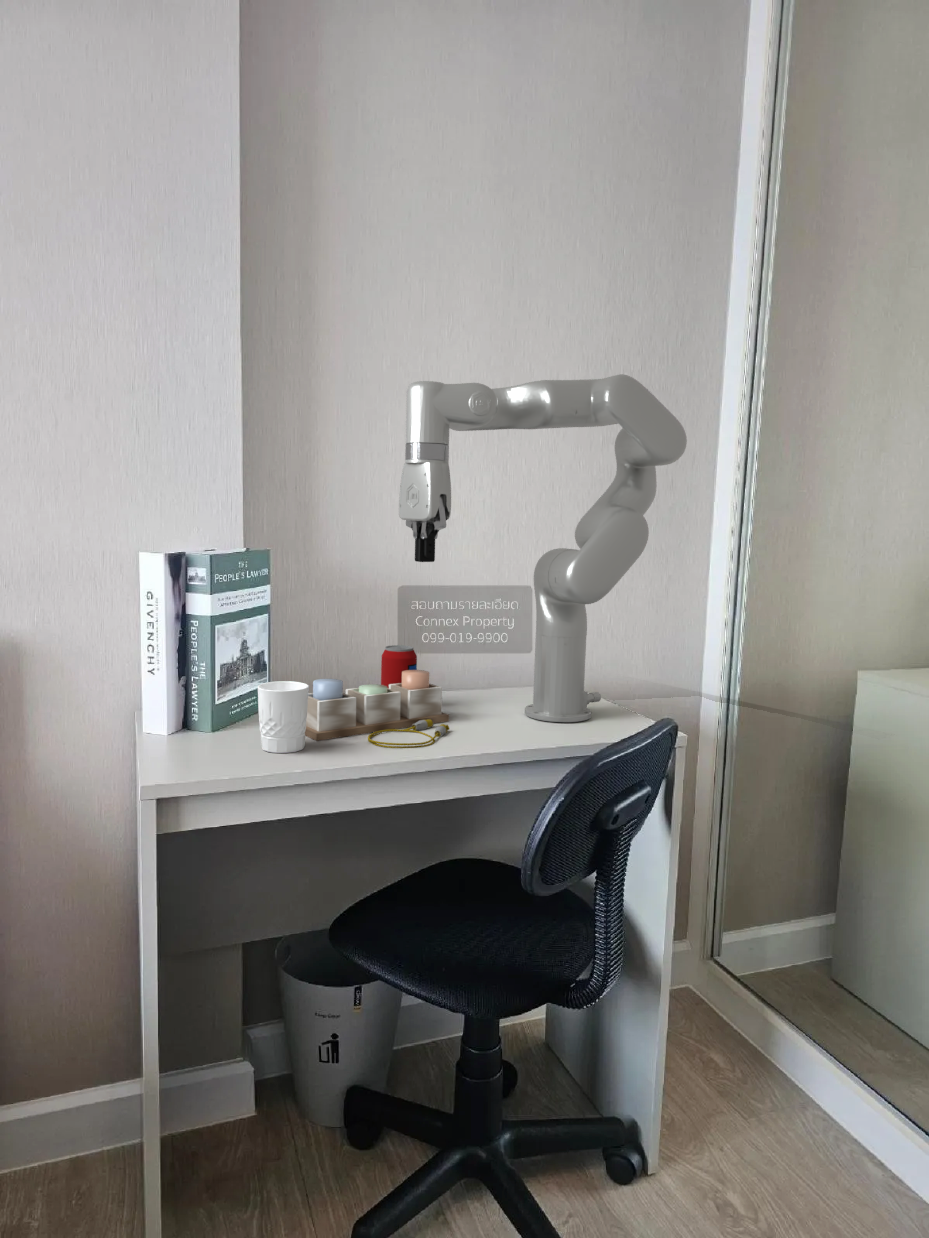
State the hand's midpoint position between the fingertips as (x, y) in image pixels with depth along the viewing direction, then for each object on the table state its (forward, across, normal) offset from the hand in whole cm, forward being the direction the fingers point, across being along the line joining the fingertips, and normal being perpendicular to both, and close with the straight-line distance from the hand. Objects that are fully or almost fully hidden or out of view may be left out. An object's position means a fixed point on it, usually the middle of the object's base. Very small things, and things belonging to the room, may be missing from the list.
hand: (424, 561), depth 157 cm
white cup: (+29, +2, -28) cm, 41 cm away
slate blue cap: (+25, -3, -17) cm, 31 cm away
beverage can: (+29, -12, +3) cm, 32 cm away
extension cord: (+30, +7, -7) cm, 31 cm away
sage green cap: (+27, -3, -8) cm, 29 cm away
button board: (+29, -4, -8) cm, 30 cm away
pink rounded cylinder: (+25, -4, +1) cm, 26 cm away
